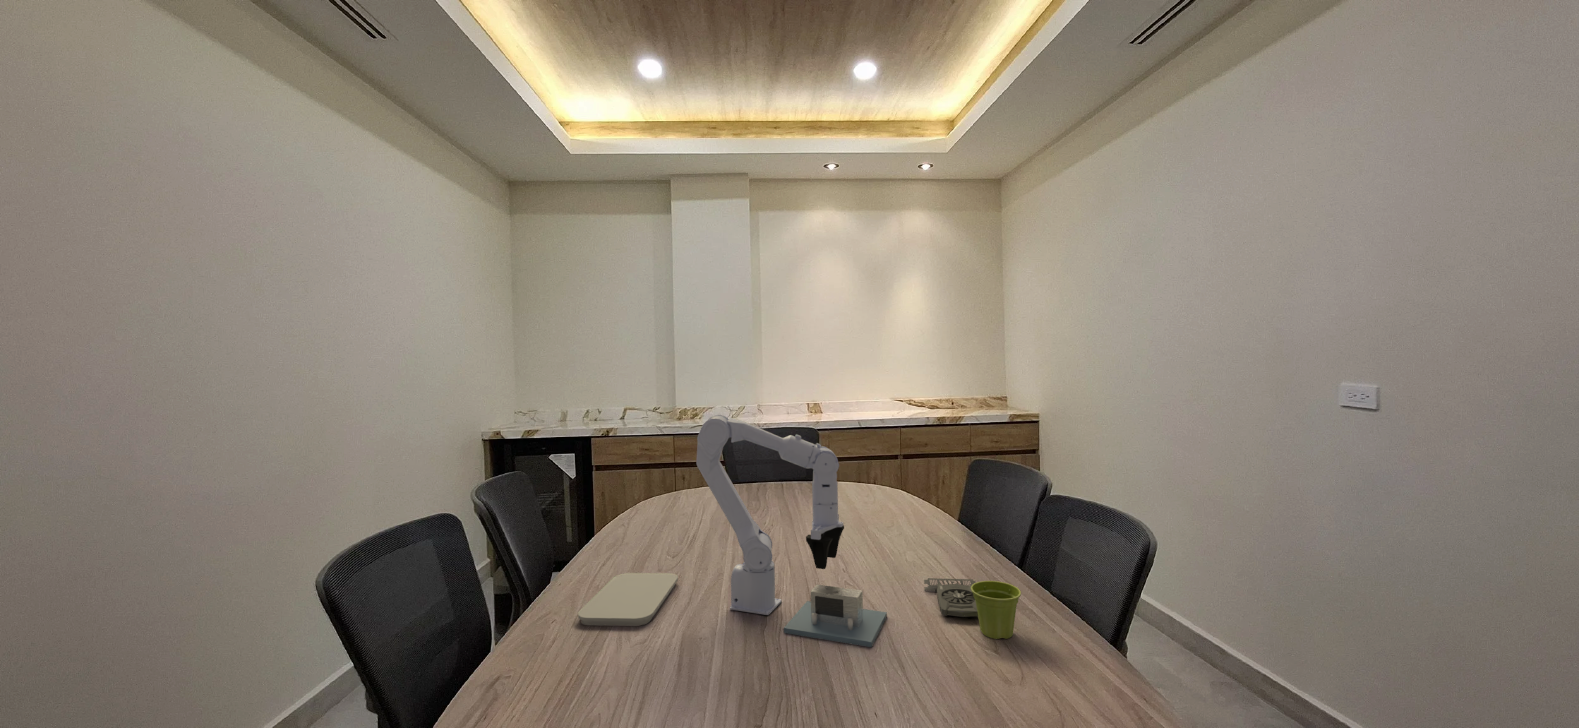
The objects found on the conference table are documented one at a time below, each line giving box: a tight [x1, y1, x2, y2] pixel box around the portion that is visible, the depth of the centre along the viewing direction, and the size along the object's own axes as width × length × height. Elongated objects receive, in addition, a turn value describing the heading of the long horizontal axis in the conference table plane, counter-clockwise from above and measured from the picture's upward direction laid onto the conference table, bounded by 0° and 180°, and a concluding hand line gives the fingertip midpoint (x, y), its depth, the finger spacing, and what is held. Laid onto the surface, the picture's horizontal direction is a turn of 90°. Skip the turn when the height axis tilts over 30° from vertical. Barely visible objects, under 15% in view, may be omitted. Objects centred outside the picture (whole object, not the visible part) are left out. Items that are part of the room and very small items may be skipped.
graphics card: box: [923, 577, 978, 620], centre depth 129 cm, size 17×4×12 cm
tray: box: [783, 600, 888, 648], centre depth 120 cm, size 18×14×3 cm
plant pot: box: [971, 580, 1022, 640], centre depth 115 cm, size 9×9×9 cm
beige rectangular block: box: [810, 584, 864, 628], centre depth 120 cm, size 10×4×6 cm, turn 69°
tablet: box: [577, 572, 679, 627], centre depth 134 cm, size 16×26×2 cm, turn 176°
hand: (826, 562), depth 130 cm, fingers open, 7 cm apart
